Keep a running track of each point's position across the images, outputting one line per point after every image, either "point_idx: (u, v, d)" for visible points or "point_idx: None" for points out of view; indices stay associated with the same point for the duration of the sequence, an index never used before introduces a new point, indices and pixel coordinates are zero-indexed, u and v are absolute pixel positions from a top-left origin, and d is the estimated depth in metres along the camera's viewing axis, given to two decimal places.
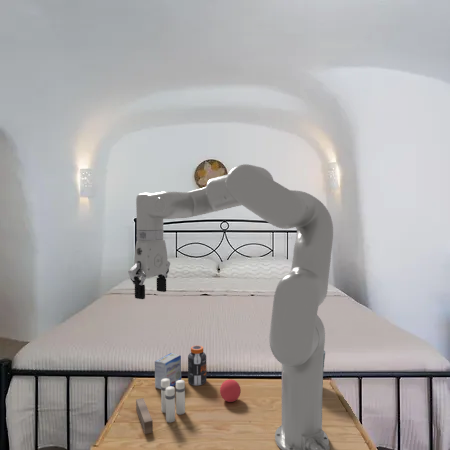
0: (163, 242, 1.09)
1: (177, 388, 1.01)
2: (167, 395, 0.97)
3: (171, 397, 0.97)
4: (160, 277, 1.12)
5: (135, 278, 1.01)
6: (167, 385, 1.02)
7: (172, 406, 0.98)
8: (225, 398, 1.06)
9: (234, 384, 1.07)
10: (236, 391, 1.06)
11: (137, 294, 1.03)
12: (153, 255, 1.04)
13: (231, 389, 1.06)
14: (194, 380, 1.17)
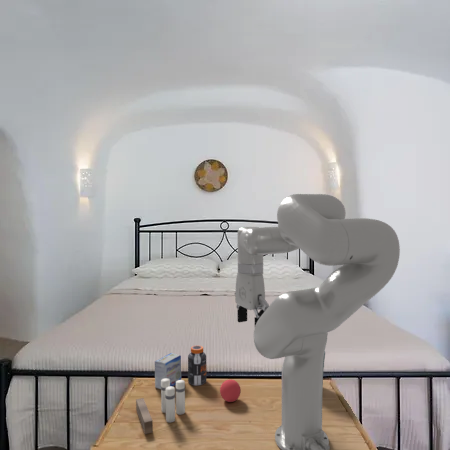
0: (248, 277, 1.06)
1: (177, 388, 1.01)
2: (167, 395, 0.97)
3: (171, 397, 0.97)
4: None
5: None
6: (167, 385, 1.02)
7: (172, 406, 0.98)
8: (225, 398, 1.06)
9: (234, 384, 1.07)
10: (236, 391, 1.06)
11: None
12: (238, 286, 1.11)
13: (231, 389, 1.06)
14: (194, 380, 1.17)
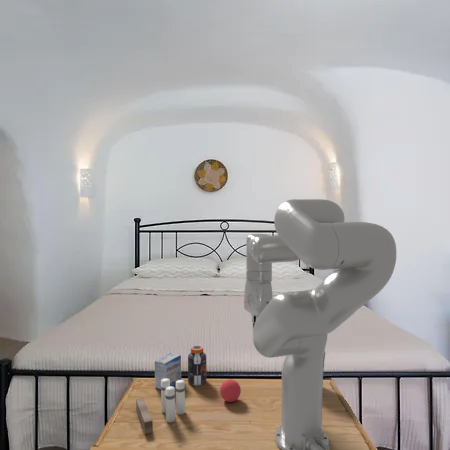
0: (256, 285, 1.07)
1: (177, 388, 1.01)
2: (167, 395, 0.97)
3: (171, 397, 0.97)
4: None
5: None
6: (167, 385, 1.02)
7: (172, 406, 0.98)
8: (225, 398, 1.06)
9: (234, 384, 1.07)
10: (236, 391, 1.06)
11: None
12: (247, 292, 1.12)
13: (231, 389, 1.06)
14: (194, 380, 1.17)
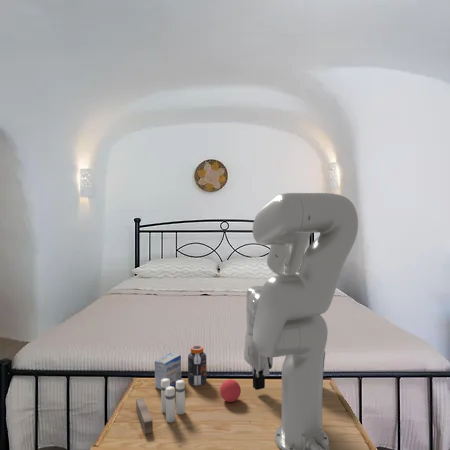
0: None
1: (177, 388, 1.01)
2: (167, 395, 0.97)
3: (171, 397, 0.97)
4: None
5: None
6: (167, 385, 1.02)
7: (172, 406, 0.98)
8: (225, 398, 1.06)
9: (234, 384, 1.07)
10: (236, 391, 1.06)
11: None
12: (247, 344, 1.13)
13: (231, 389, 1.06)
14: (194, 380, 1.17)
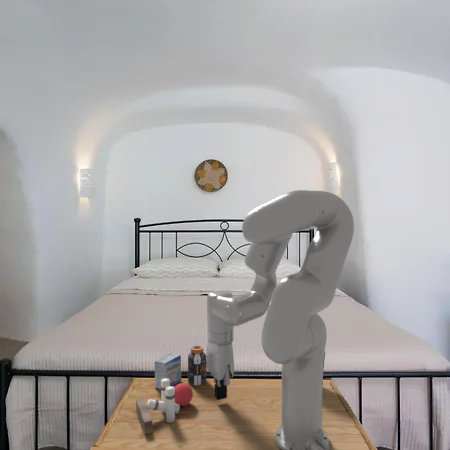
0: (216, 346, 1.03)
1: (152, 409, 0.99)
2: (167, 395, 0.97)
3: (171, 397, 0.97)
4: None
5: None
6: (167, 385, 1.02)
7: (172, 406, 0.98)
8: (180, 385, 1.06)
9: (189, 399, 1.04)
10: (184, 397, 1.03)
11: None
12: (208, 352, 1.07)
13: (187, 393, 1.04)
14: (194, 380, 1.17)
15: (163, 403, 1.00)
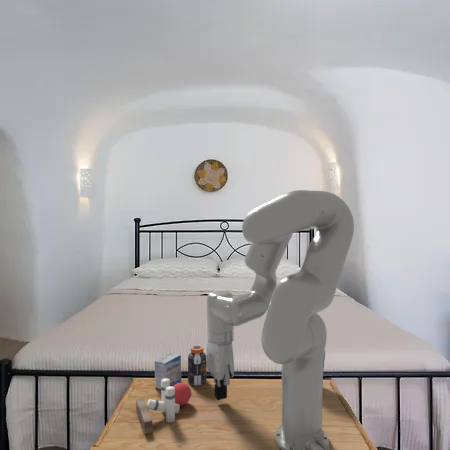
0: (216, 346, 1.03)
1: (152, 409, 0.99)
2: (167, 395, 0.97)
3: (171, 397, 0.97)
4: None
5: None
6: (167, 385, 1.02)
7: (172, 406, 0.98)
8: (176, 384, 1.06)
9: (187, 396, 1.04)
10: (181, 395, 1.04)
11: None
12: (208, 352, 1.07)
13: (184, 390, 1.05)
14: (194, 380, 1.17)
15: (163, 403, 1.00)
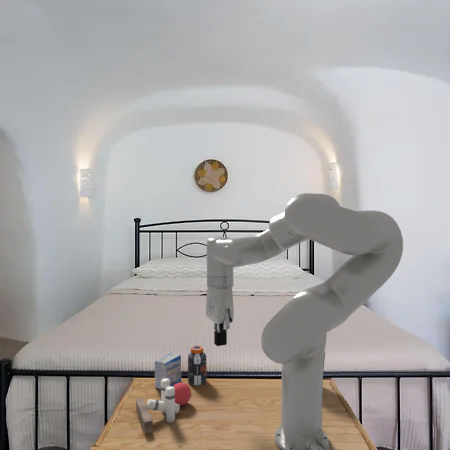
0: (215, 290, 1.02)
1: (152, 409, 0.99)
2: (167, 395, 0.97)
3: (171, 397, 0.97)
4: None
5: None
6: (167, 385, 1.02)
7: (172, 406, 0.98)
8: (176, 384, 1.06)
9: (187, 396, 1.04)
10: (181, 395, 1.04)
11: None
12: (208, 298, 1.07)
13: (184, 390, 1.05)
14: (194, 380, 1.17)
15: (163, 403, 1.00)
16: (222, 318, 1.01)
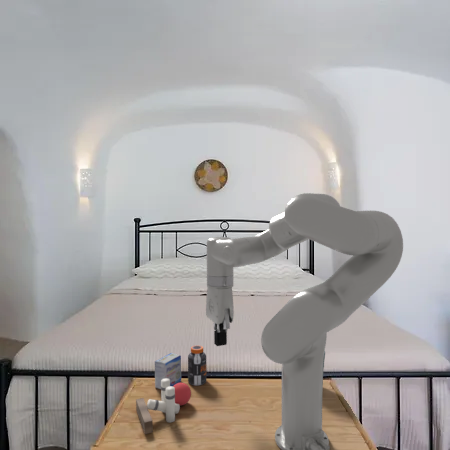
0: (215, 290, 1.02)
1: (152, 409, 0.99)
2: (167, 395, 0.97)
3: (171, 397, 0.97)
4: None
5: None
6: (167, 385, 1.02)
7: (172, 406, 0.98)
8: (176, 384, 1.06)
9: (187, 396, 1.04)
10: (181, 395, 1.04)
11: None
12: (208, 298, 1.07)
13: (184, 390, 1.05)
14: (194, 380, 1.17)
15: (163, 403, 1.00)
16: (222, 318, 1.01)
